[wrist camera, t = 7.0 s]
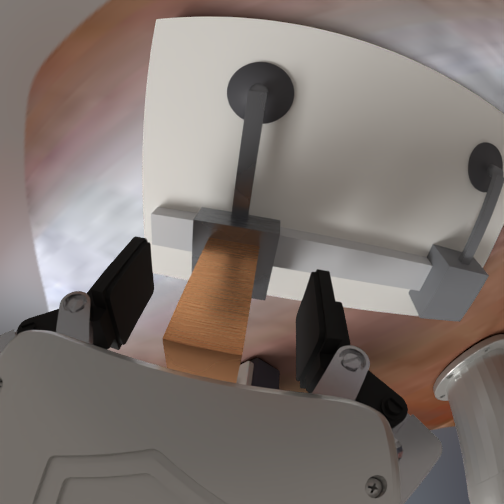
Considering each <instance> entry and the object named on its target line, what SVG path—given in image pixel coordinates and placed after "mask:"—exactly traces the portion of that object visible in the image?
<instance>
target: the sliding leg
mask: <svg viewBox="0 0 504 504" xmlns="http://www.w3.org/2000/svg"><path fill="white" fill-rule="evenodd" d="M267 96H268V89H267V87H266V86H264V85H263V84H260V83H256V84H253V85H252V86H251V87H250V89H249V91H248V97H247V103H246V110H245V117H244V124H243V131H242V138H241V145H240V152H239V160H238V167H237V175H236V182H235V190H234V198H233V206H232V212H230V211H223V210H217V209H211V208H205V207H201V209H200V210H199V212H198V213H197V215H196V216H195V218H194V219H193V238H192V274H191V276H190V278H189V280H188V283H187V285H186V287H185V289H184V291H183V294H182V296H181V298H180V300H179V302H178V305H177V307H176V309H175V311H174V314H173V316H172V318H171V320H170V323H169V325H168V327H167V329H166V332H165V334H164V336H163V345H164V352H165V358H166V364H167V368H169V369H173V370H177V371H181V372H185V373H189V374H194V375H198V376H203V377H207V378H212V379H217V380H222V381H227V382H233V383H236V382H237V377H238V372H239V367H240V362H241V357H242V352H243V346H244V340H245V334H246V328H247V322H248V316H249V309H250V303H251V298H254V299H260V300H265V298H266V294H267V290H268V286H269V281H270V277H271V273H272V268H273V264H274V259H275V255H276V250H277V246H278V241H279V237H280V220H276V219H270V218H265V217H259V216H253V215H249V209H250V202H251V196H252V189H253V183H254V176H255V170H256V164H257V157H258V151H259V145H260V138H261V132H262V126H263V119H264V113H265V107H266V101H267Z"/></svg>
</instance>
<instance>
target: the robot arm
mask: <svg viewBox="0 0 504 504" xmlns="http://www.w3.org/2000/svg"><path fill="white" fill-rule="evenodd" d="M153 291H154V282H153V271H152V258H151V244H150V242H148V241H147V239H146V238H140V237H134V238H133V239H132V240H131V241H130V242H129V243H128V245H127V246H126V247H125V248H124V249H123V250H122V252H121V253H120V254H119V255H118V256H117V257H116V259H115V260H114V261H113V262H112V263H111V264H110V265H109V266H108V268H107V269H106V270H105V271H104V272H103V274H102V275H101V276H100V277H99V279H98V280H97V281H96V282H95V284H94V285H93V286H92V287H91V289H90V290H89V291H88V292H87V294H86V293H84V292H81V291H76V292H72V293H69V294H67V295H66V296H65V297H64V298H63V299H62V300H61V303H60V307H59V309H57V310H54V311H51V312H48V313H45V314H42V315H39V316H35V317H32V318H29V319H27V320H25V321H23V322H22V323H21V324H20V325H19V327H18V330H17V332H15V330H12V331H9V332H7V333H4V334H2V335H0V504H404V503H405V502H406V500H407V499H408V498H409V497H410V496H411V495H412V493H413V492H414V491H415V490H416V489H417V487H418V486H419V485H420V483H421V482H422V481H423V480H424V478H425V477H426V476H427V474H428V473H429V472H430V470H431V469H432V468H433V466H434V465H435V463H436V462H437V460H438V459H439V458H440V456H441V453H442V444H441V442H440V441H439V439H438V438H437V437H436V436H435V435H434V434H433V433H431V431H430V430H429V429H428V428H426V427H425V426H424V425H423V424H422V423H421V422H420V421H419V420H418V419H417V418H416V417H415V416H414V415H413V414H412V415H411V416H410V415H409V414H408V413H407V411H408V409H407V404H406V403H405V401H404V399H403V398H402V397H401V396H399V395H398V394H397V393H396V392H394V391H393V390H392V389H391V388H389V387H388V386H387V385H386V384H385V383H383V382H382V381H381V380H380V379H378V378H377V377H376V376H375V375H373V374H372V373H371V372H370V371H369V370H368V369H369V365H370V362H369V358H368V356H367V354H366V353H365V352H364V351H363V350H361V349H360V348H358V347H355V346H350V340H349V335H348V330H347V324H346V319H345V314H344V310H343V305H342V303H341V302H337V301H335V296H334V291H333V286H332V281H331V276H330V272H329V271H325V270H319V269H317V270H316V272H311V275H310V278H309V281H308V284H307V287H306V290H305V293H304V296H303V299H302V302H301V305H300V307H299V310H298V313H297V317H296V380H297V381H300V388H304V389H306V390H307V391H308V392H309V393H302V392H293V391H285V390H278V389H270V388H263V387H256V386H250V385H244V384H238V383H233V382H227V381H222V380H217V379H212V378H207V377H203V376H198V375H194V374H189V373H185V372H181V371H177V370H173V369H169V368H165V367H162V366H158V365H155V364H151V363H148V362H144V361H141V360H137V359H134V358H131V357H128V356H125V355H121V354H118V353H115V352H112V351H110V350H107V349H109V348H110V347H111V348H114V349H117V350H119V349H120V347H121V345H122V344H123V345H124V344H126V342H127V340H128V338H129V336H130V334H131V332H132V331H133V329H134V327H135V325H136V323H137V321H138V319H139V318H140V316H141V314H142V312H143V310H144V308H145V307H146V305H147V303H148V301H149V300H150V298H151V296H152V294H153ZM433 390H434V394H435V397H436V398H437V399H439V400H449V403H450V407H451V410H452V414H453V418H454V421H455V425H456V429H457V433H458V437H459V442H460V447H461V451H462V456H463V462H464V467H465V474H466V480H467V487H468V496H469V500H470V503H471V504H504V334H499V335H495V336H492V337H490V338H487V339H485V340H483V341H481V342H479V343H478V344H476V345H474V346H473V347H471V348H470V349H468V350H467V351H465V352H464V353H463V354H461V355H460V356H459V357H458V358H456V359H455V360H454V361H453V362H452V363H451V364H449V365H448V366H447V367H446V368H445V370H444V371H443V372H442V373H441V374H440V375H439V377H438V378H437V380H436V382H435V384H434V387H433Z"/></svg>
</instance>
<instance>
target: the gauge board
mask: <svg viewBox="0 0 504 504" xmlns="http://www.w3.org/2000/svg"><path fill="white" fill-rule="evenodd" d="M256 83H260V84H263V85H264V86H266V87H267V89H268V96H267V101H266V107H265V113H264V119H263V126H262V132H261V138H260V145H259V151H258V157H257V164H256V170H255V176H254V183H253V189H252V196H251V202H250V209H249V215H253V216H259V217H265V218H270V219H276V220H280V237H279V241H278V246H277V250H276V255H275V259H274V264H273V268H272V273H271V277H270V281H269V286H268V290H267V294H266V295H269V296H275V297H281V298H287V299H294V300H300V301H302V299H303V296H304V293H305V290H306V287H307V284H308V281H309V278H310V275H311V272H316V270H317V269H319V270H325V271H329V272H330V276H331V281H332V286H333V291H334V296H335V301H337V302H341V303H342V305H343V307H347V308H355V309H362V310H370V311H378V312H386V313H395V314H403V315H412V316H419V317H420V318H426V319H437V320H448V321H461V319H462V318H463V316H464V315H465V313H466V312H467V310H468V309H469V307H470V306H471V304H472V303H473V301H474V300H475V298H476V296H477V295H478V293H479V291H480V290H481V288H482V286H483V285H484V283H485V281H486V280H487V278H488V276H489V275H488V274H487V273H486V272H485V270H484V269H483V266H484V264H485V263H486V261H487V259H488V257H489V255H490V253H491V251H492V249H493V247H494V244H495V242H496V240H497V238H498V236H499V233H500V231H501V229H502V227H503V224H504V114H503V113H502V112H501V111H499V110H498V109H497V108H495V107H494V106H493V105H491V104H490V103H488V102H487V101H485V100H484V99H482V98H481V97H479V96H478V95H476V94H475V93H473V92H472V91H470V90H469V89H467V88H465V87H464V86H462V85H460V84H459V83H457V82H455V81H453V80H452V79H450V78H448V77H446V76H444V75H442V74H441V73H439V72H437V71H435V70H433V69H431V68H429V67H427V66H425V65H423V64H421V63H418V62H416V61H414V60H412V59H409V58H407V57H405V56H402V55H400V54H398V53H395V52H393V51H390V50H388V49H385V48H382V47H379V46H377V45H374V44H371V43H368V42H365V41H362V40H359V39H355V38H352V37H349V36H345V35H342V34H338V33H334V32H330V31H326V30H322V29H317V28H313V27H308V26H303V25H297V24H291V23H285V22H278V21H271V20H262V19H252V18H238V17H179V18H166V19H156V24H155V29H154V35H153V41H152V48H151V54H150V62H149V70H148V78H147V88H146V99H145V113H144V130H143V166H142V182H143V219H144V237H145V238H146V239H147V241H148V242H150V244H151V258H152V271H153V273H155V274H160V275H164V276H169V277H174V278H179V279H184V280H189V278H190V276H191V274H192V238H193V219H194V218H195V216H196V215H197V213H198V212H199V210H200V209H201V207H205V208H211V209H217V210H223V211H230V212H232V206H233V198H234V190H235V182H236V175H237V167H238V160H239V152H240V145H241V138H242V131H243V124H244V117H245V110H246V103H247V97H248V91H249V89H250V87H251V86H252V85H253V84H256Z"/></svg>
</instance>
